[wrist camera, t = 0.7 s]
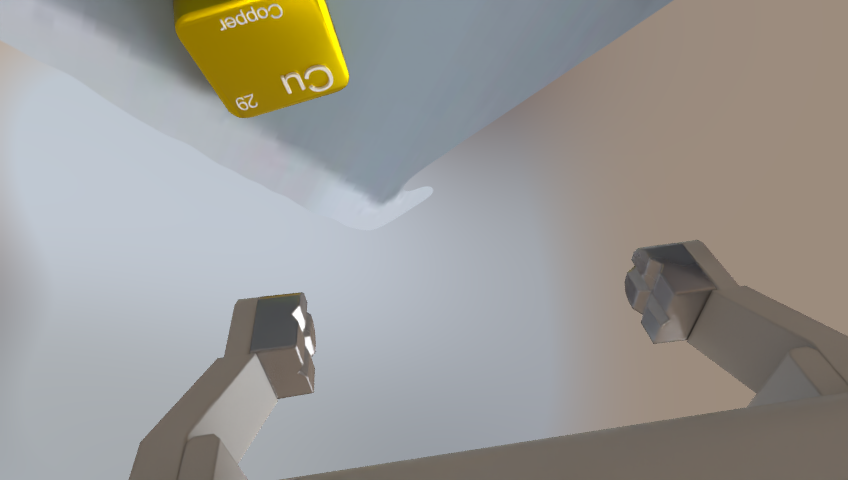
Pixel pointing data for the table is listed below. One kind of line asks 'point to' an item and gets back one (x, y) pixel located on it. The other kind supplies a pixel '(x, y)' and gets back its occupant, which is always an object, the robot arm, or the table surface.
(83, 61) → the table surface
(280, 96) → the element tile
